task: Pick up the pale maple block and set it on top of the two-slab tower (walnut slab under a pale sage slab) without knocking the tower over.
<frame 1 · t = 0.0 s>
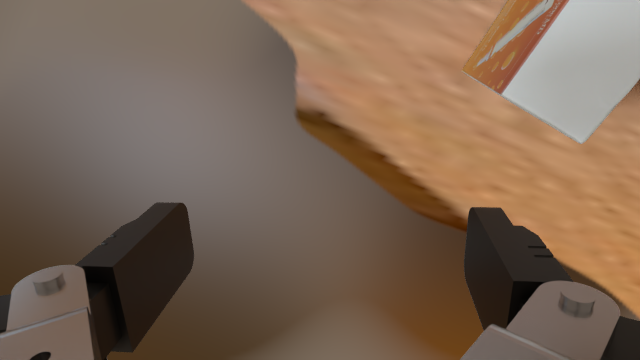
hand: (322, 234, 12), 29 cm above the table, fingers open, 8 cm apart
small box: (516, 47, 37), on the table
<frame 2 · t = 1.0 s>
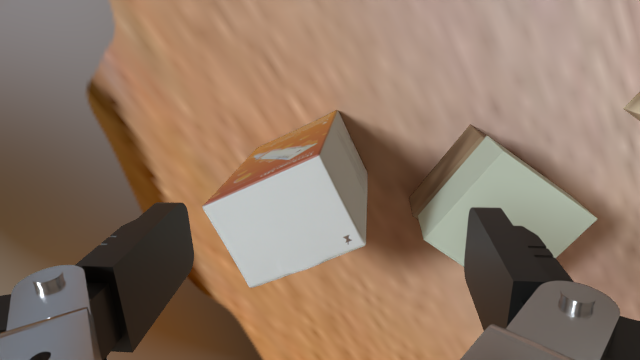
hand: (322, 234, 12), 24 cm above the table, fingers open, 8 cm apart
walnut slab: (475, 187, 37), on the table, touching sage slab
sage slab: (492, 206, 33), point 4 cm above the table, touching walnut slab
small box: (311, 159, 37), on the table
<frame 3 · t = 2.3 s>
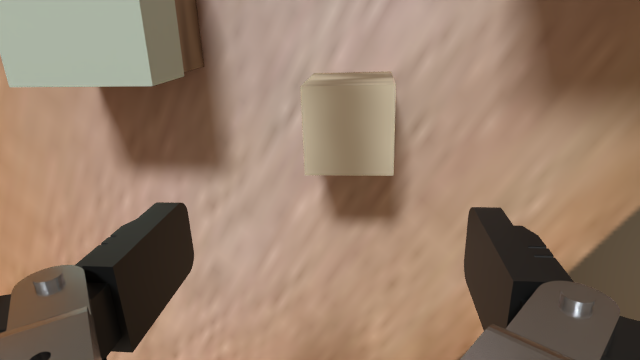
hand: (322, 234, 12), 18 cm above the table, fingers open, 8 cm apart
walnut slab: (139, 5, 28), on the table, touching sage slab
sage slab: (108, 5, 25), point 4 cm above the table, touching walnut slab
maple block: (352, 110, 29), on the table
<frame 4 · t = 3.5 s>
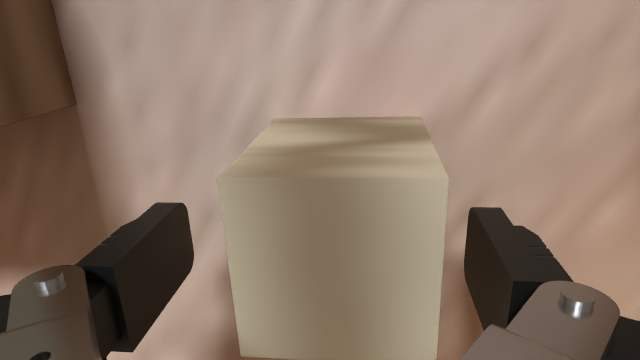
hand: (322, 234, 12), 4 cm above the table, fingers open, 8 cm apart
maple block: (347, 184, 16), on the table
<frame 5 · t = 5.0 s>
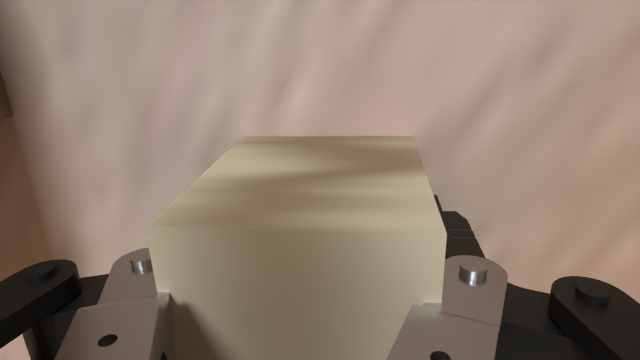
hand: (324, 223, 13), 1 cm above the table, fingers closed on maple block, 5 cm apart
maple block: (327, 214, 13), on the table, touching gripper
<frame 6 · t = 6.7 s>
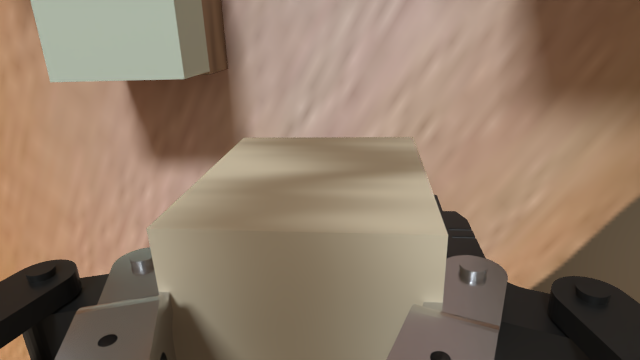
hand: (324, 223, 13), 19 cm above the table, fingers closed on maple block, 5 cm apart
walnut slab: (168, 10, 30), on the table, touching sage slab
sage slab: (139, 6, 26), point 4 cm above the table, touching walnut slab
maple block: (328, 214, 13), point 19 cm above the table, touching gripper
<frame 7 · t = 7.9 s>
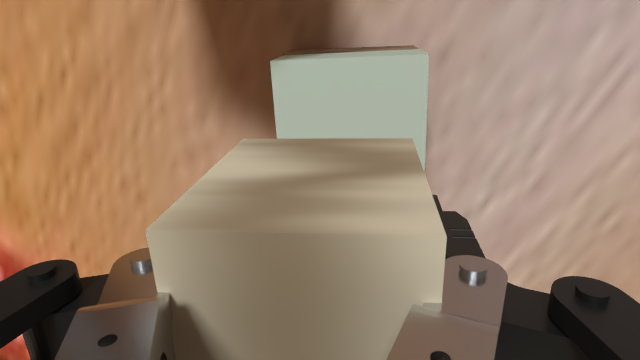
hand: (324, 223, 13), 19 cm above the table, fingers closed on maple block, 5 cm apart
walnut slab: (353, 106, 30), on the table, touching sage slab
sage slab: (352, 119, 27), point 4 cm above the table, touching walnut slab
maple block: (327, 215, 13), point 18 cm above the table, touching gripper
when the fingers open (10 cm above the table, at t = 10.5 s): maple block drops 1 cm, point 8 cm above the table.
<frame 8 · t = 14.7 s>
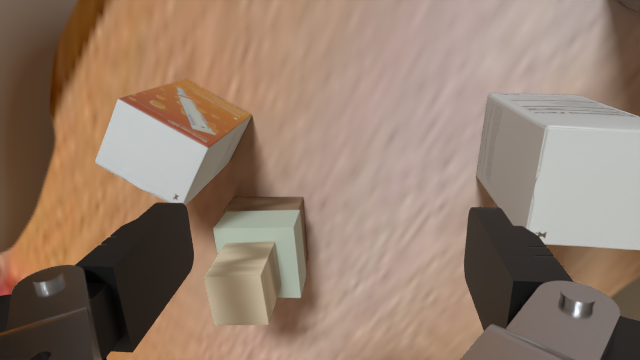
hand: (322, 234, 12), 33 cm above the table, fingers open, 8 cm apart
walnut slab: (272, 227, 50), on the table, touching sage slab
sage slab: (266, 244, 47), point 4 cm above the table, touching walnut slab
maple block: (253, 264, 43), point 8 cm above the table
small box: (208, 120, 46), on the table
supplement box: (526, 137, 43), on the table
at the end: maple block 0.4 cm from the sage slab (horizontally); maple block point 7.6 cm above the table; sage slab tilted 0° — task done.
